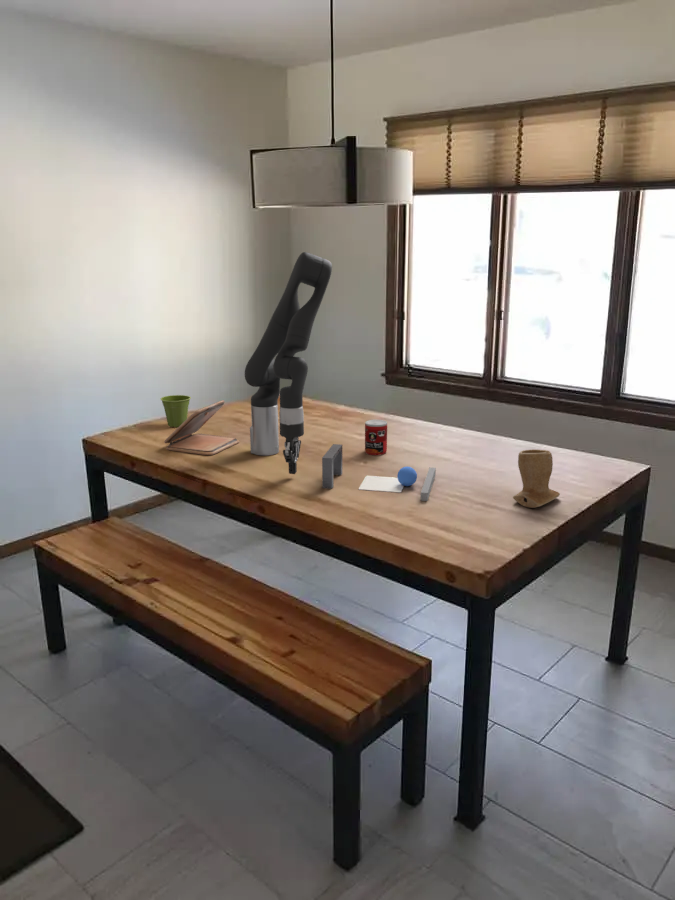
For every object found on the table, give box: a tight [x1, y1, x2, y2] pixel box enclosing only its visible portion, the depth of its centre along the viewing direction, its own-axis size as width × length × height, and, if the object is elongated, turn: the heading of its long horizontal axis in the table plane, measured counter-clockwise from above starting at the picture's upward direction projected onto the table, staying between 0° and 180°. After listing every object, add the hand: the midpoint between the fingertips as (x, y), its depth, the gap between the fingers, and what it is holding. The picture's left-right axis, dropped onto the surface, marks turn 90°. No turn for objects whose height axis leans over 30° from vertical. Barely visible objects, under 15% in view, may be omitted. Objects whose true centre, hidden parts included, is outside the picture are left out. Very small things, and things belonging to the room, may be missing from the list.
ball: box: [396, 466, 418, 487], centre depth 232 cm, size 6×6×6 cm
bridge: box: [321, 443, 343, 490], centre depth 236 cm, size 3×15×10 cm, turn 167°
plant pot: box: [160, 394, 192, 428], centre depth 301 cm, size 12×12×11 cm
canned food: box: [364, 419, 388, 456], centre depth 265 cm, size 8×8×11 cm
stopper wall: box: [420, 467, 437, 502], centre depth 231 cm, size 2×24×2 cm, turn 167°
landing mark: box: [358, 475, 405, 494], centre depth 234 cm, size 13×13×1 cm
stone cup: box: [512, 448, 561, 509], centre depth 218 cm, size 15×12×15 cm
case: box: [163, 399, 240, 456], centre depth 273 cm, size 20×21×16 cm
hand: (292, 473), depth 240 cm, fingers closed
